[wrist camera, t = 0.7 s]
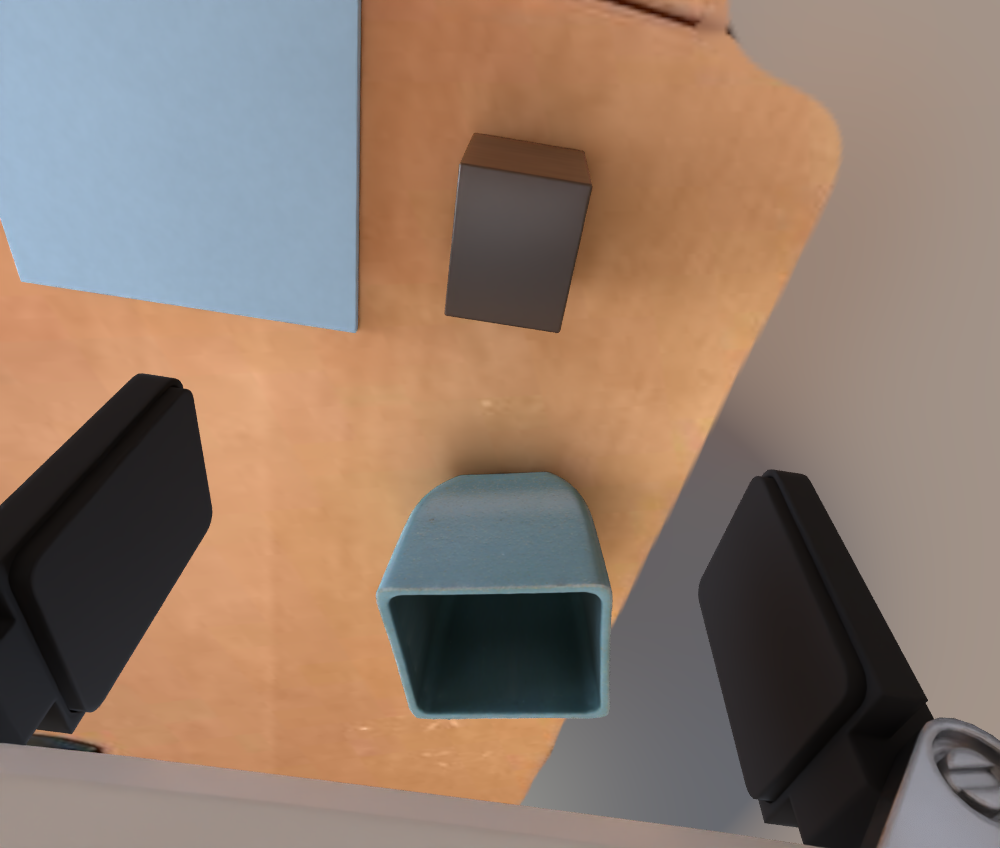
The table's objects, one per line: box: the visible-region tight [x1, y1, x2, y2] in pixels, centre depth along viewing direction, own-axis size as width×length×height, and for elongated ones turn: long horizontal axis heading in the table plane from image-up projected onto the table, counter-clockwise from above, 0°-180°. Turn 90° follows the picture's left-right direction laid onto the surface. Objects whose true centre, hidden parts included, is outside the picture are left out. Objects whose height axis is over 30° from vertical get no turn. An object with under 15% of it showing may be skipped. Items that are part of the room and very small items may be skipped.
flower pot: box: [376, 472, 612, 720], centre depth 29 cm, size 9×9×9 cm
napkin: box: [0, 0, 361, 333], centre depth 22 cm, size 16×14×1 cm
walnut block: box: [445, 133, 592, 333], centre depth 22 cm, size 5×4×4 cm
